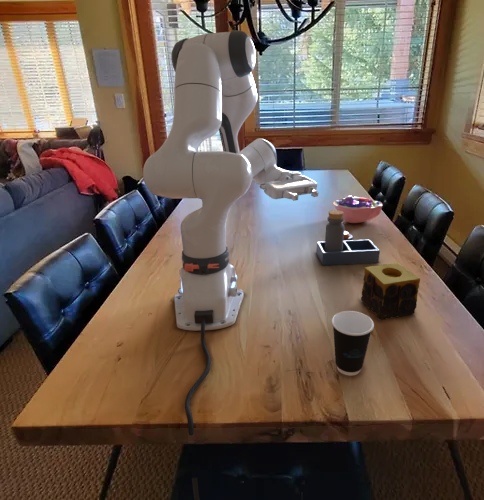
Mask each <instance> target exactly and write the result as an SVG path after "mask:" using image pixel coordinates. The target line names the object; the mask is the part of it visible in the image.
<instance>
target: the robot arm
mask: <svg viewBox="0 0 484 500" xmlns="http://www.w3.org/2000/svg"><path fill="white" fill-rule="evenodd" d="M170 57H171V58H170V59H171V65H172V68H173V71H174V73H175V74H174V83H173V84H174V89H173V90H174V91H173V115H172V123H171V127H170V131H169V133H168V136H167V137H166V139H165V141H164V142H163V144H161V146H160V147H159V148H158V149H157V150H156V151H155V152H154V153H152V154H151V155H150V156H148V158H146V161H145V163H144V164H143V168H142V180H143V183H144V186H145V187H146V188H147V191H149V193H151V194H152V195H154V196H158V197H161V198H168V199H198V200H201V202H202V204H201V207H199V208H198V209H195V210H194V211H192V212H190V213H188V214H187V215H186V216H185V217H184V218H183V219H182V220H181V224H180V235H181V244H182V245H181V246H182V251H181V263H182V267H181V268H180V269H179V270H178V272H179V281H180V288H178V290H177V291H178V292H177V293H175V294H174V296H173V300H174V311H175V312H174V313H175V321H176V322H175V323H176V328H178V329H180V330H184V331H193V332H195V331H196V332H197V331H198V332H200V343H201V349H202V351H203V354H204V356H205V359H206V364H205V368H204V370H203V372H202V374H201V375H200V376H199V378H198V379H197V380H196V381H195V382H194V384H193V385H192V386H191V387H190V389H189V390H188V392H187V393H186V397H185V400H184V411H185V415H186V420H187V428H188V436H190V437H191V436H193V435H194V434H195V429H194V428H195V427H194V419H193V415H192V410H191V401H192V398H193V395H194V394H195V392H196V390H197V389H198V387H199V386H200V385H201V384H202V382H203V381H205V379H206V377H207V376H208V374H209V372H210V370H211V365H212V358H211V355H210V353H209V350H208V347H207V344H206V339H205V338H206V331H213V330H220V329H224V328H227V327H231V326H233V325H235V323H236V321H237V318H238V315H239V312H240V309H241V306H242V303H243V300H244V297H245V292H244V290H242V289H239V288H238V287H237V280H238V275H237V274H236V267H235V266H234V265H232V264H231V262H230V252H229V248H228V246H227V220H228V216H229V214H230V211H231V209H232V208H233V206H234V204H235V203H237V201H238V200H239V199H240V198H242V197H243V196H244V195H245V194H247V192H248V191H249V189H250V188H251V185H252V182H254V183H255V184H257V185H259V186H258V187H259V188H260V189H261V190H262V191H263V193H264V194H265V195H266V196H268V197H269V198H270V199H273V200H280V199H287V200H292V201H293V202H295V201H298V200H299V196H303V195H304V196H305V195H310V194H311V195H310V196H311V197H313V198H317V197H318V196H319V191H318V190H317V188H318V182H316V181H315V180H313V179H311V178H309V177H308V176H306V175H302V172H300V171H294V170H287V169H284V168H281V167H278V166H277V164H278V155H277V154H278V153H277V150H276V148H275V146H274V144H272V143H271V142H270V141H268V140H266V139H264V138H256V139H255V140H252V141H251V142H250V143H249V144H248V145H246V147H244V148H243V149H241V150H240V146H239V141H238V135H239V132H240V130H241V127H242V126H243V124H244V123H245V121H246V120H247V119H248V117H249V116H250V115H251V114H252V112H253V111H254V109H255V107H256V105H257V101H258V93H257V91H258V90H257V88H256V83H255V80H254V77H253V73H252V72H253V70H254V69H255V67H256V58H257V57H256V48H255V45H254V42H253V39H252V36H250V35H249V34H248V33H247V32H246V31H243V30H236V29H235V30H231V31H224V32H213V33H210V32H208V33H203V34H199V35H195V36H193V37H190V38H188V37H186V38H183V39H180V40H179V41H176V43H175V44H174V45H173V47H172V50H171V54H170ZM218 132H219V137H220V143H221V146H222V151H221V150H219V151H218V150H216V151H215V150H214V151H211V150H210V151H208V150H207V151H198V150H199V147H200V146H201V145H202V144H203V142H204V141H206V140H208V139H209V138H212V137H213V136H215V135H216V134H217V133H218ZM191 483H192V491H193V499H194V500H200V492H199V484H198V477H191Z"/></svg>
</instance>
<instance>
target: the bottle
mask: <svg viewBox="0 0 484 500" xmlns="http://www.w3.org/2000/svg"><path fill="white" fill-rule="evenodd" d="M343 222H345V221H344V218H343V212H342V211H339V210H336V209H332V210H329V211H328V216H327V223H326V224H325V238H324V241H325V252H336V251H343V240H344V231H345V224H343Z"/></svg>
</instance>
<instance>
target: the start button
mask: <svg viewBox="0 0 484 500" xmlns="http://www.w3.org/2000/svg"><path fill="white" fill-rule="evenodd" d="M349 234H350V232H349V231H346V230H344V238H348V237H349Z"/></svg>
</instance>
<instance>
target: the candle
mask: <svg viewBox="0 0 484 500" xmlns="http://www.w3.org/2000/svg"><path fill="white" fill-rule="evenodd" d="M420 283H421V278H420V277H419V276H417V275H416V274H415V273H414V272H413V271H410V270H409V269H407V268H406V267H405V266H403V265H402V264H400V262H391V263H385V264H379V265H372V266H365V267H364V275H363V285H362V289H361V297H360V299H361V300H360V301H361V302H362V303H363V304H364V305H365V306H366V307H367V309H368V310H369V311H371V312H372V313H373V314H375V316H376V318H377V319H378V320H380V321H382V320H387V319H393V318H395V319H396V318H400V317H403V316H409V315H413V314H415V313H416V308H417V303H418V293H419V288H420Z"/></svg>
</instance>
